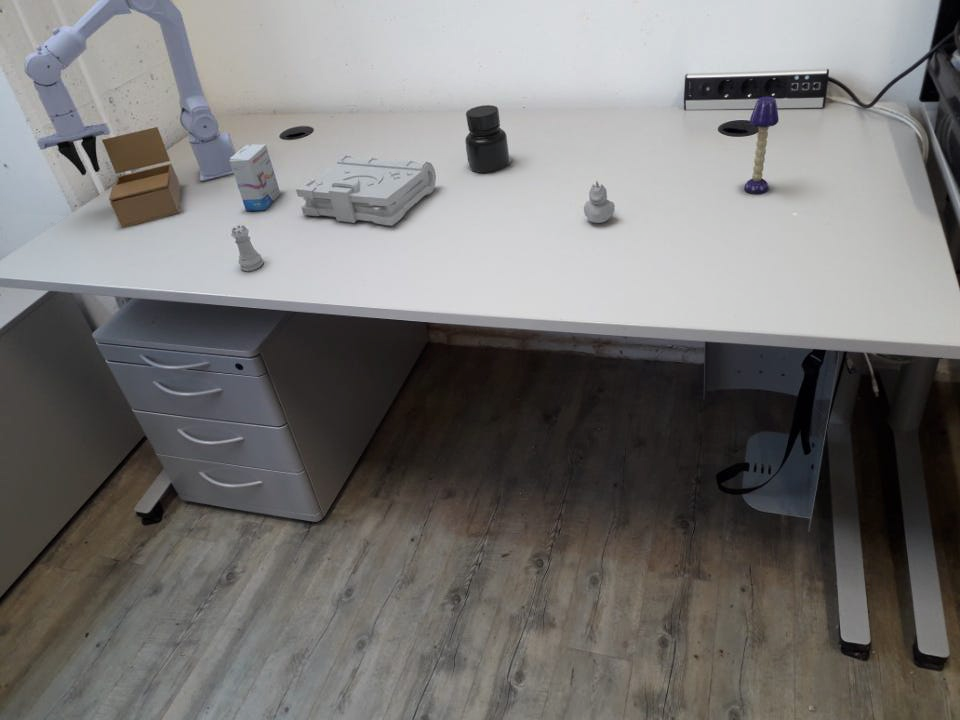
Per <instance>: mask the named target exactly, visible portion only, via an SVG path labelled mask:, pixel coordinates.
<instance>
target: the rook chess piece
mask: <svg viewBox="0 0 960 720" xmlns="http://www.w3.org/2000/svg"><path fill="white" fill-rule="evenodd" d="M249 232H250V230H249V228H246V225H244V224H241V225H239V224H238V225H236V226H233V227H232V229H231V237H233V238H234V239H235V241H234V243H235V244H236V246H237V247H238V253H239V256H238V265H239V269H241V270H242V271H244V272H252V271H256V270H259V269H260V268H261V267H262V265H263V264H264V259H263V258H262V255H261V254H260V253H259V252H258V251H257V249H255V247H254V246H253V244H252V242H251V237H250V236H249Z"/></svg>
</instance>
